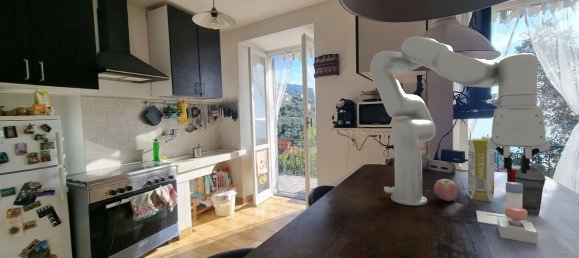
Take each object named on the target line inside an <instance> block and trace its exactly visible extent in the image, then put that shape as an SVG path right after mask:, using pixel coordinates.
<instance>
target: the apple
mask: <svg viewBox="0 0 579 258" xmlns="http://www.w3.org/2000/svg"><path fill="white" fill-rule="evenodd" d="M433 186H434V187H433V191H434V193H435V195H436V196H437V197H438V198H439V199H441V200H443V201H447V202H450V201H454V200H455V199H456V198H457V197H458V196H459V195H458V194H459V187H458V185H457V184H456V182H455V181H453V180H451V179H450V178H449V179H448V178H442V179H439V180H436V182H435V183H434V185H433Z"/></svg>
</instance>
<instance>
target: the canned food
mask: <svg viewBox="0 0 579 258" xmlns="http://www.w3.org/2000/svg"><path fill="white" fill-rule="evenodd" d="M520 167H521V165H512V172H511V173H508V172H507V171H506V182H516V180H515V174H516V171H517V170H518V169H519V168H520Z"/></svg>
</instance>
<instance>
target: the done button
mask: <svg viewBox="0 0 579 258" xmlns="http://www.w3.org/2000/svg"><path fill="white" fill-rule="evenodd" d="M504 207H505V208H504V215H505V216H507V217H509V218H512V225H513V226H519V227H520V220H526V221H527V220H528V215H527V210H525V209H522V208H518V207H510V206H509V207H506V206H504Z"/></svg>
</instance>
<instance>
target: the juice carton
mask: <svg viewBox="0 0 579 258" xmlns="http://www.w3.org/2000/svg"><path fill="white" fill-rule="evenodd" d="M490 138H491V136H483V135H482V136H481V138H470V140H469V144H468V148H467V189H468V195H469V198H470V200H475V201H481V202H482V201H483V202H488V203H489V202H490V203H491V202H492V201H493V198H494V195H495V150H493V149H491V148H488V147H487V146H486V145H487V143H488V142H489V140H490Z"/></svg>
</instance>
